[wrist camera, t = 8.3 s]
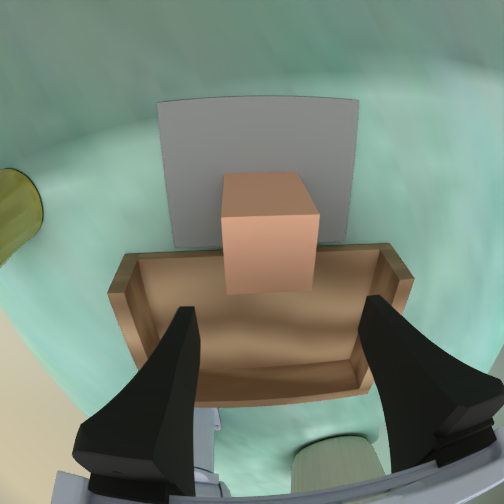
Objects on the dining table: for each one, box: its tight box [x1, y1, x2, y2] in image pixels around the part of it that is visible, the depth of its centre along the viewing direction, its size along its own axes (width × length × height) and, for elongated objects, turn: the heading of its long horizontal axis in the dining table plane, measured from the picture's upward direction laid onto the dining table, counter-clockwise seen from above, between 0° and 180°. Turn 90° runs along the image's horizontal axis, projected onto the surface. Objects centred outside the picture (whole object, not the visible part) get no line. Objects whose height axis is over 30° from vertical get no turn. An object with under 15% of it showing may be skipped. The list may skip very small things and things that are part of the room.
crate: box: [107, 243, 415, 408], centre depth 25 cm, size 14×20×4 cm
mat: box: [157, 96, 359, 248], centre depth 20 cm, size 10×12×1 cm
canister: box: [291, 436, 390, 504], centre depth 36 cm, size 18×18×21 cm
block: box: [221, 172, 320, 295], centre depth 18 cm, size 4×4×6 cm
